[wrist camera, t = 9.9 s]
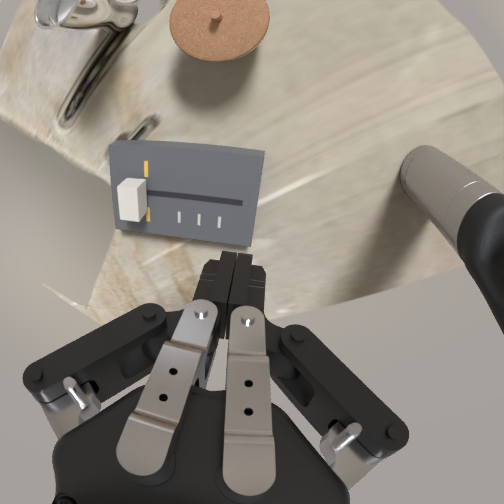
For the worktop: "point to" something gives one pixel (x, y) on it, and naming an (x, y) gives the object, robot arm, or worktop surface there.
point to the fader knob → (132, 199)
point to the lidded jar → (219, 27)
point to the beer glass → (85, 15)
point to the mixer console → (190, 188)
